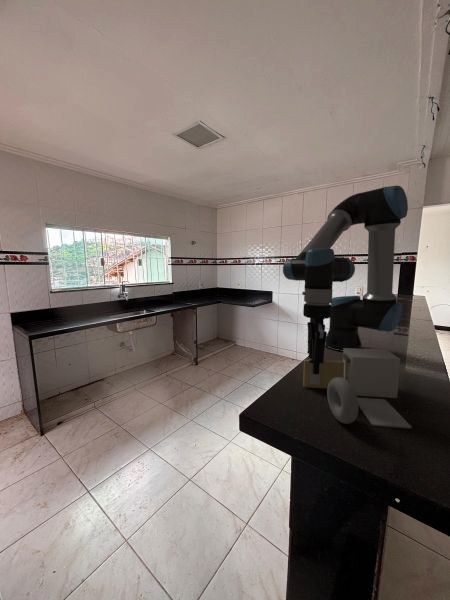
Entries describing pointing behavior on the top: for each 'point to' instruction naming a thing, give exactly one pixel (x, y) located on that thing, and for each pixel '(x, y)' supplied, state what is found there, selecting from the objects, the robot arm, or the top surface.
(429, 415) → the top surface
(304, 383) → the yellow rectangular slab
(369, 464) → the top surface
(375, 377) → the large beige block
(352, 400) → the donut
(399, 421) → the mat
